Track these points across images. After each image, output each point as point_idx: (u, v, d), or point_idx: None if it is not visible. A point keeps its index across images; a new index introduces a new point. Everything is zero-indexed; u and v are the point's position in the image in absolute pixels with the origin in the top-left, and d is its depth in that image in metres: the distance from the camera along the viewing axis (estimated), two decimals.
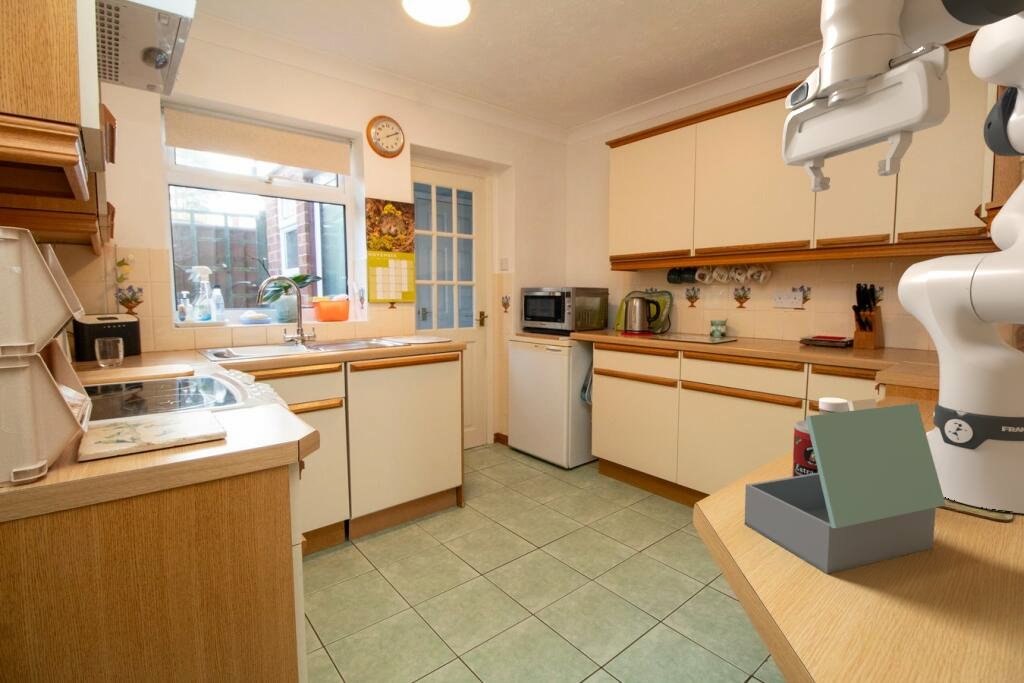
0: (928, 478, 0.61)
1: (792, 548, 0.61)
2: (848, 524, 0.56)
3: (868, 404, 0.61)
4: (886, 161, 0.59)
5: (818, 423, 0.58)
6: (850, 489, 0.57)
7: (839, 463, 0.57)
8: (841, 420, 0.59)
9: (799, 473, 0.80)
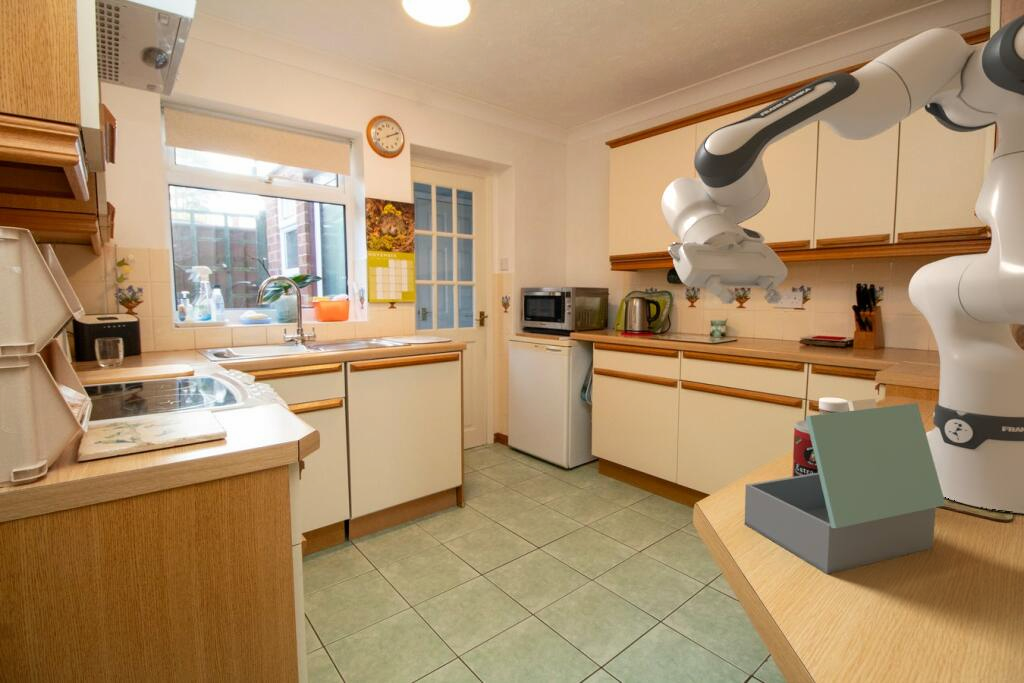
0: (928, 478, 0.61)
1: (792, 548, 0.61)
2: (848, 524, 0.56)
3: (868, 404, 0.61)
4: None
5: (818, 423, 0.58)
6: (850, 489, 0.57)
7: (839, 463, 0.57)
8: (841, 420, 0.59)
9: (799, 473, 0.80)
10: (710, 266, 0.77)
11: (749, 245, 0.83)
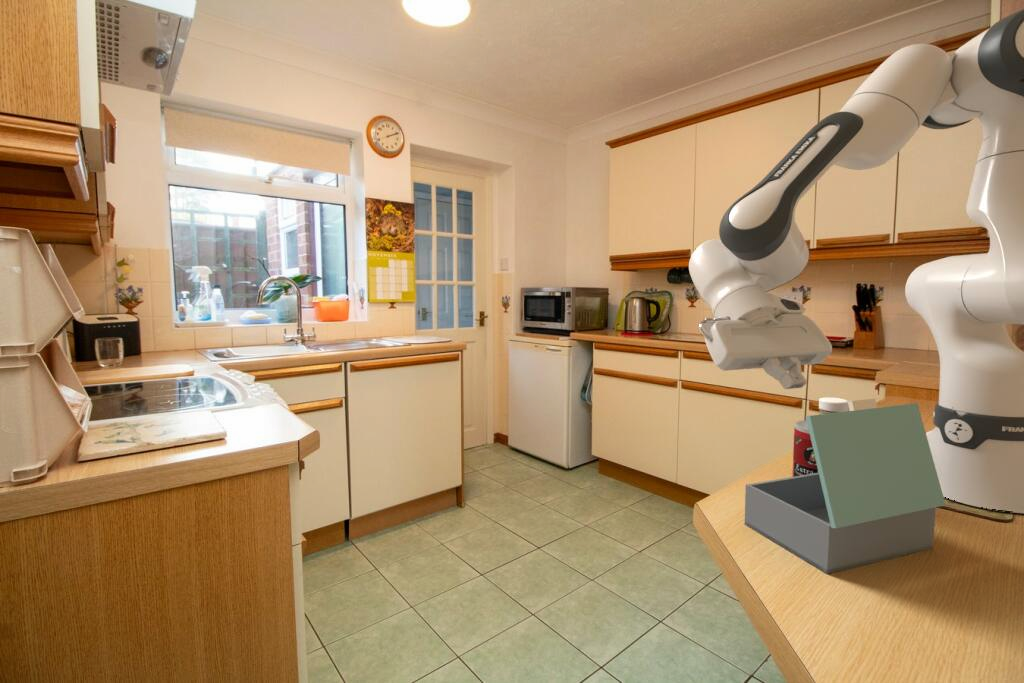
0: (928, 478, 0.61)
1: (792, 548, 0.61)
2: (848, 524, 0.56)
3: (868, 404, 0.61)
4: None
5: (818, 423, 0.58)
6: (850, 489, 0.57)
7: (839, 463, 0.57)
8: (841, 420, 0.59)
9: (799, 473, 0.80)
10: (746, 349, 0.70)
11: (789, 319, 0.76)
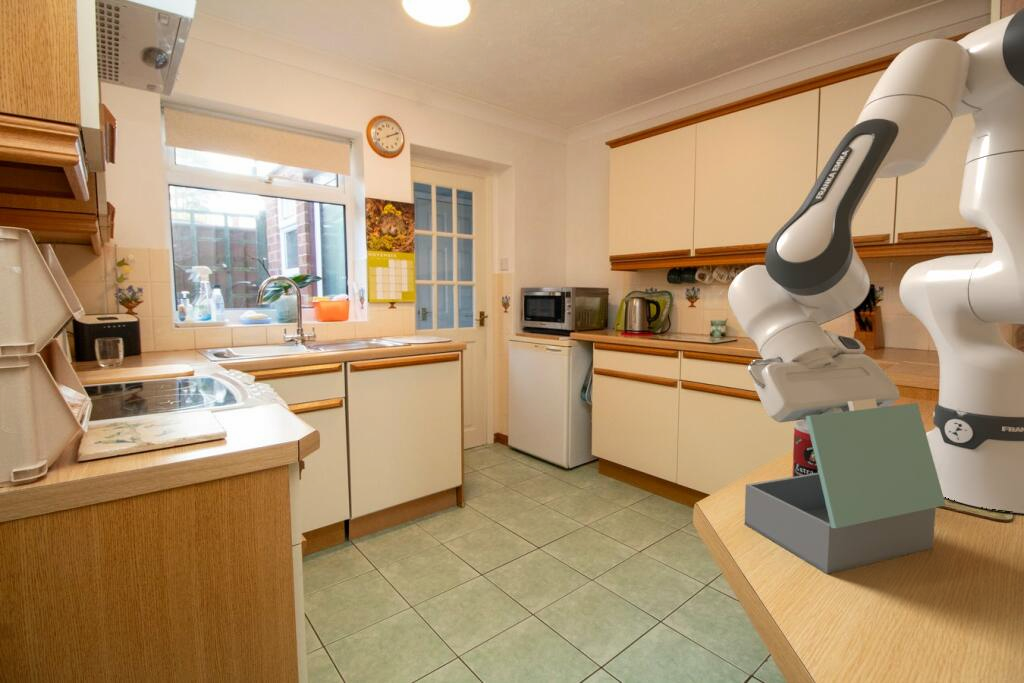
0: (928, 478, 0.61)
1: (792, 548, 0.61)
2: (848, 524, 0.56)
3: (868, 404, 0.61)
4: None
5: (818, 423, 0.58)
6: (850, 489, 0.57)
7: (839, 463, 0.57)
8: (841, 420, 0.59)
9: (799, 473, 0.80)
10: (806, 399, 0.61)
11: (849, 360, 0.67)
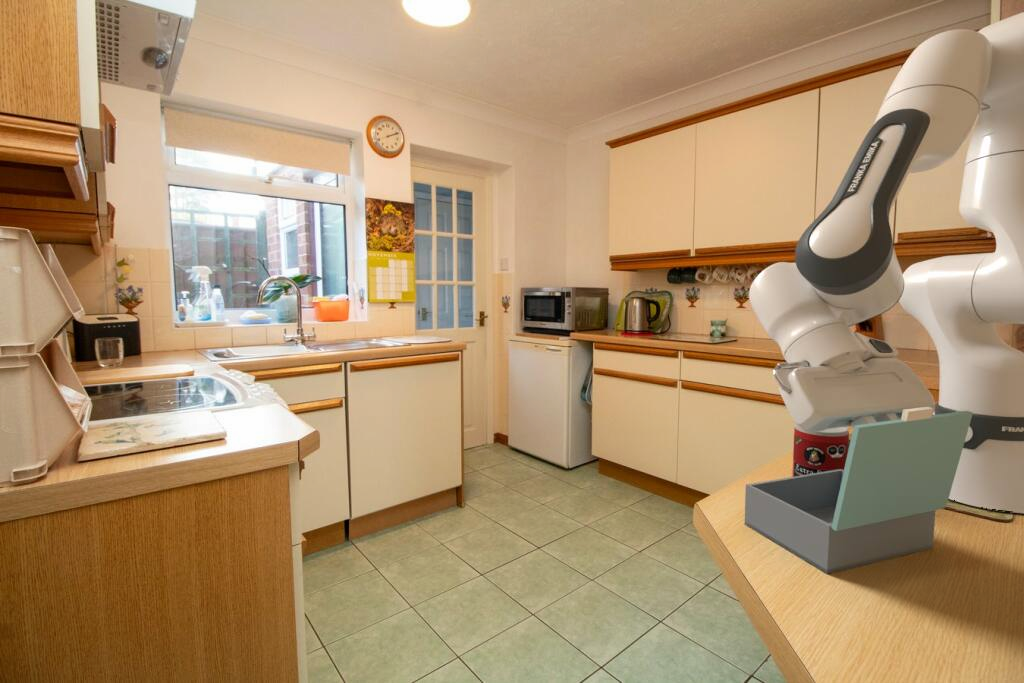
0: (942, 485, 0.59)
1: (792, 548, 0.61)
2: (849, 527, 0.56)
3: (923, 414, 0.55)
4: None
5: (864, 435, 0.52)
6: (865, 497, 0.55)
7: (866, 473, 0.54)
8: (888, 431, 0.54)
9: (799, 473, 0.80)
10: (837, 406, 0.57)
11: (881, 365, 0.62)
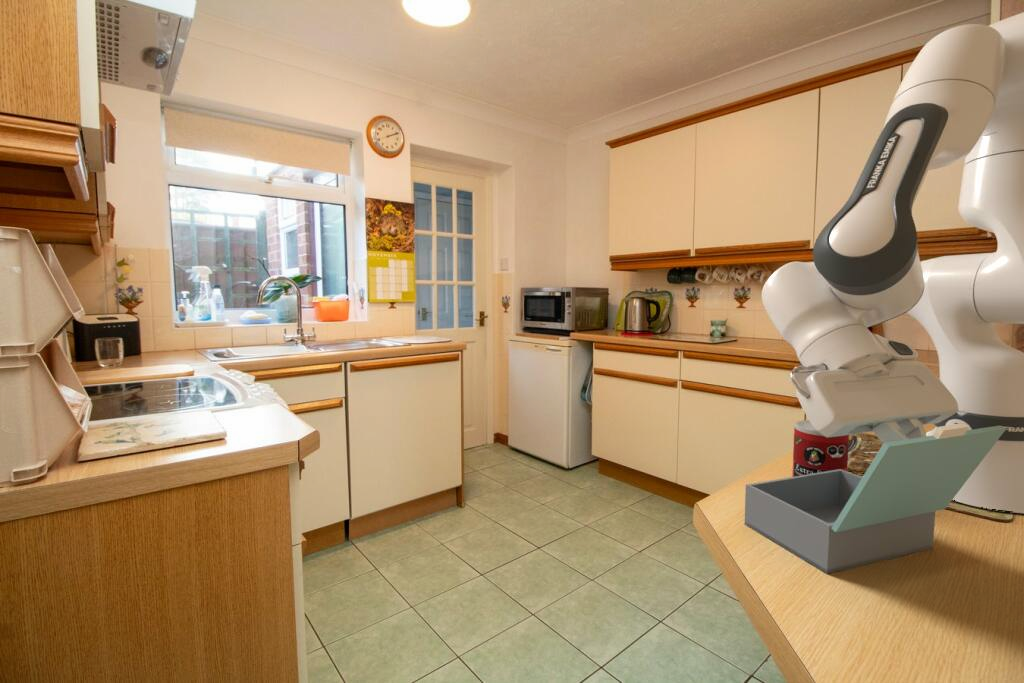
0: (950, 491, 0.58)
1: (792, 548, 0.61)
2: (848, 528, 0.56)
3: (957, 432, 0.52)
4: None
5: (891, 452, 0.50)
6: (873, 504, 0.54)
7: (882, 484, 0.53)
8: (916, 448, 0.51)
9: (799, 473, 0.80)
10: (858, 411, 0.55)
11: (901, 368, 0.60)
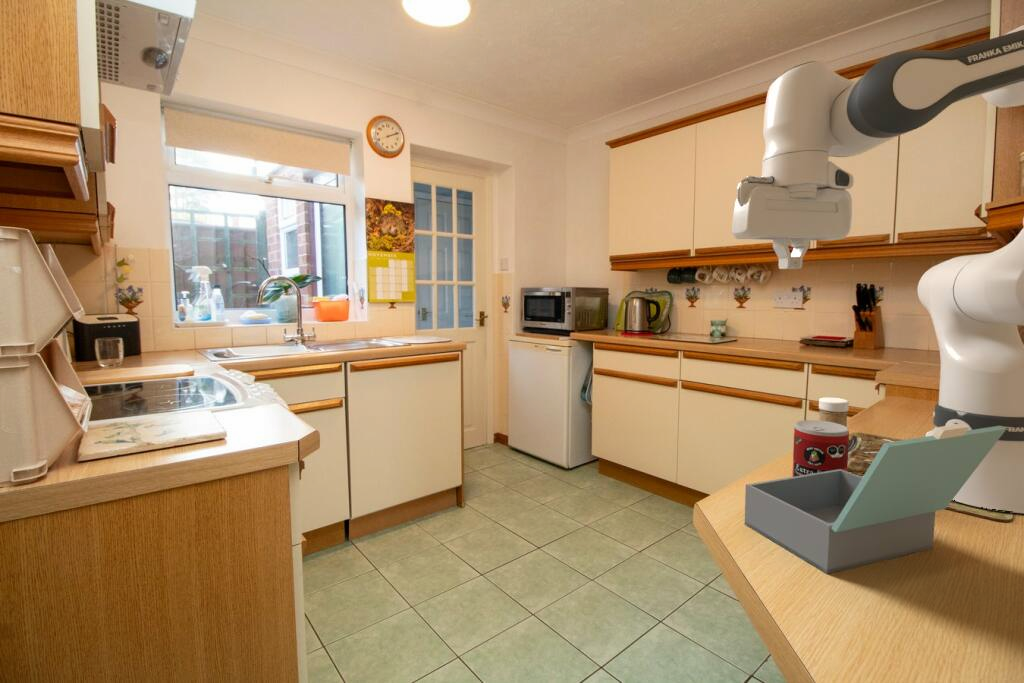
0: (950, 491, 0.58)
1: (792, 548, 0.61)
2: (848, 528, 0.56)
3: (957, 432, 0.52)
4: None
5: (892, 453, 0.50)
6: (873, 504, 0.54)
7: (882, 484, 0.53)
8: (917, 449, 0.51)
9: (799, 473, 0.80)
10: (767, 228, 0.71)
11: (829, 196, 0.73)
